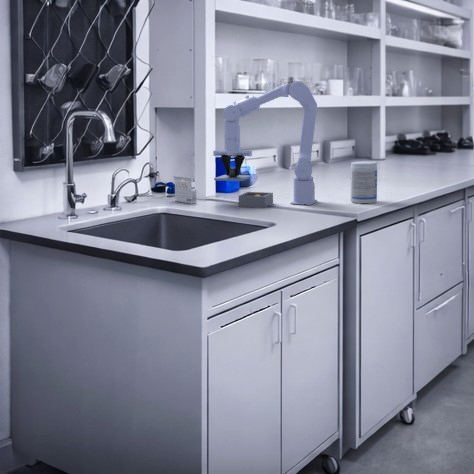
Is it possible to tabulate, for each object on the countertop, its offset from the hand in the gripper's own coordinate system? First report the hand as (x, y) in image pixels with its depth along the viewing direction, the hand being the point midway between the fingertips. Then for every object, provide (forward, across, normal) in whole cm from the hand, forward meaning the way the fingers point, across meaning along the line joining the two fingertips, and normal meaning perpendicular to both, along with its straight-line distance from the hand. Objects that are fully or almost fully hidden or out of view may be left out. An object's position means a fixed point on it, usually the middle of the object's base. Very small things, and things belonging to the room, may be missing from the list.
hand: (232, 175), depth 252 cm
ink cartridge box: (+11, +20, 0) cm, 23 cm away
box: (+10, -9, +1) cm, 14 cm away
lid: (+1, 0, 0) cm, 1 cm away
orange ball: (+8, -9, -1) cm, 13 cm away
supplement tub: (+10, -46, -13) cm, 49 cm away
